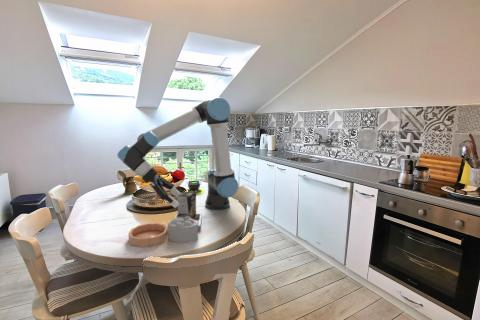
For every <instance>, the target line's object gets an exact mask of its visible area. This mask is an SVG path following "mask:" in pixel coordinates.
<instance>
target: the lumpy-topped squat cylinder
mask: <svg viewBox="0 0 480 320" xmlns="http://www.w3.org/2000/svg"><path fill="white" fill-rule="evenodd" d="M174 218H175V217H174ZM198 225H199V222H198V221H197V219H196V220H194V219H191V217H190V216H185V217H176V218H175V219H172V220H170V221H168V223H167V228H168V236H167V239H168V241H171V242H174V241H175V243H179V242H180V244H186V243H191V242H192V243H193V242H195V241H197V240H198V239H199V230H198Z"/></svg>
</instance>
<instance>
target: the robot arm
mask: <svg viewBox="0 0 480 320" xmlns="http://www.w3.org/2000/svg"><path fill="white" fill-rule="evenodd" d="M230 115H231V105H230V103H229V102H228V100H227V99H226V98H224V97H218V96H215V97H211V98H207V99H205V100H204V101H202V102H201V103H198V104H197V105H195V106H194V107H192V109H191V110H190V111H188V112H185V113H184V114H182V115H180V116H177V117H175V118H173V119H171V120H169V121H167V122H165V123H162V124H160V125H159V126H157V127H155V128H152V129H150V130H148V131H146V132H145V133H144V132H143V133H141V134H139V135H138V136H137V141H136V142H135V143H134V144H133V145H131V146H130V145H128V144H126V145H124V147H122V148H121V149H120V150H119V151H118V152H117V154H116V155H117V156H116V157H117V158H118V159H119V160H120V161H121V162H122V163H123V164H124V165H126V166H127V167H128V168H129V169H130V170H132V172H134V173H135V176H138V177H140V178H141V179H142V181H144V182H145V183H147V184H149V186H150V187H151V188H152V189H153V190H154V191H155V193H156V194H157V195H158V196H159V198H161V200H162V201H167V202H168V204H169V205H171V206H172V207H173V208H174V209H176V208H178V205H179V203H178V200H176V199H175V198H174V197H172V195H170V194H169V193H168V192H167V190H166V189H168V190H169V192H170V193H172V194H173V196H175V197H176V198H177V199H178V196H179V195H180V194H182V193H181V192H180V191H179V190H178V189H177V188H175V184H173V183H171V182H170V181H169V180H167V179H166V178H164V177H163V176H161V175H160V174H158V173H159V171H158V169H156V168H154V167H152V165H151V164H150V163H149V162H148V161H147V160H146V159H144V158H145V157H146V156H147V155H148V154H149V153H150V152H151V151H152V150H153V149H154V148H156V147H157V146H158V145H159V144H160V142H162V141H164V140H166V139H168V138H170V137H172V136H174V135H177V134H178V133H180V132H182V131H184V130H186V129H188V128H190V127H192V126H194V125H196V124H198V123H199V124H202V123H204V122H206V125H207V126H208V127H209V128H210V133H211V134H210V136H211V143H212V150H213V159H214V166H215V167H214V169H208V171H207V196H206V198H205V199H206V200H205V202H204V206H205V208H207V209H210V210H225V209H228V208H229V207H230V205H231V204H230V199H229V198H232V197H233V196H235V195H236V193H238V191H239V186H240V185H239V182H238V181H237V179H236V176H235V174H236V173H235V170H233V169H232V165H231V156H230V147H229V138H228V128H227V126H228V124H229V123H230V121H229V116H230ZM157 174H158V175H157ZM149 182H150V183H149ZM165 188H166V189H165Z"/></svg>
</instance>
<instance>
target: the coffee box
mask: <svg viewBox="0 0 480 320" xmlns="http://www.w3.org/2000/svg"><path fill="white" fill-rule="evenodd" d="M184 191H185V190H184ZM184 191H183V192H182V193H181V194H180V195H179V196H178V198H177V202H178V203H179V205H178V206H177V214H178V217H185V216H190V217H191V219H194V220H196V221H197V218H196V213H197V194H196V192H186V191H185V192H184Z"/></svg>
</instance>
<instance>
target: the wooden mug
mask: <svg viewBox="0 0 480 320" xmlns="http://www.w3.org/2000/svg"><path fill="white" fill-rule="evenodd" d="M117 173H118V174H119V176H121V177H122V185H123V187H124V194H125V195H134V194H133V193H134V192H135V191H137V190H138V187H137V183H136V184H135V182H134V180H133V178H134V177H135V176H133V175H132V176H127V174H126V173H124V172H123V171H122V170H118V171H117Z"/></svg>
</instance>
